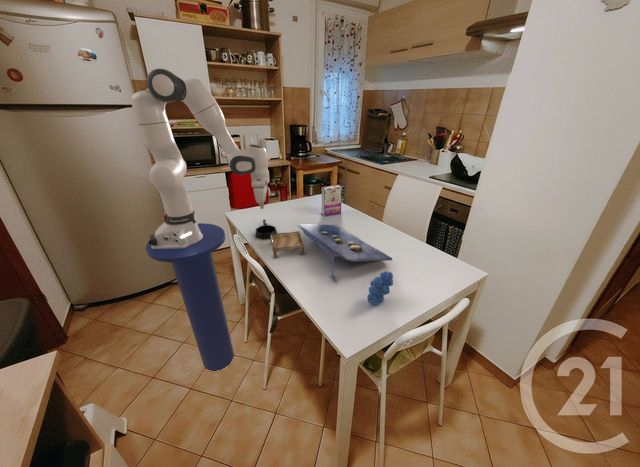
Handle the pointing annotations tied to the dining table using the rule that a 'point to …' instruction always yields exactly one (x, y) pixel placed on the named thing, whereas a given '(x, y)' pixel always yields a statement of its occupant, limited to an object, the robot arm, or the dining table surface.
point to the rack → (286, 242)
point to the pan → (265, 231)
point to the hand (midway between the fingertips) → (263, 204)
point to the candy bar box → (331, 200)
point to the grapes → (380, 287)
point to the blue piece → (341, 244)
